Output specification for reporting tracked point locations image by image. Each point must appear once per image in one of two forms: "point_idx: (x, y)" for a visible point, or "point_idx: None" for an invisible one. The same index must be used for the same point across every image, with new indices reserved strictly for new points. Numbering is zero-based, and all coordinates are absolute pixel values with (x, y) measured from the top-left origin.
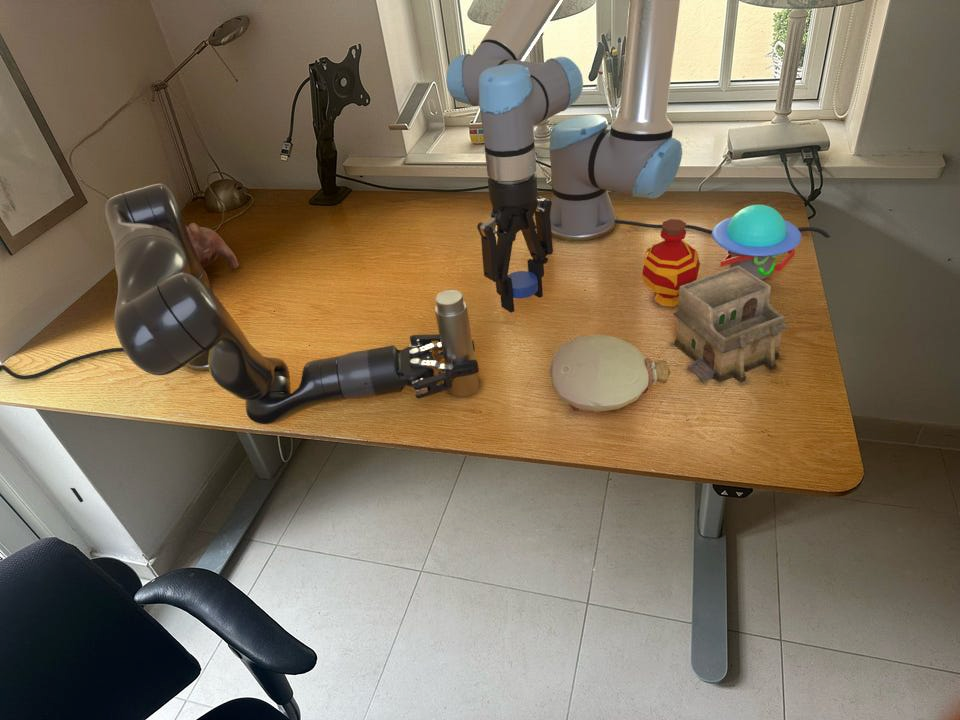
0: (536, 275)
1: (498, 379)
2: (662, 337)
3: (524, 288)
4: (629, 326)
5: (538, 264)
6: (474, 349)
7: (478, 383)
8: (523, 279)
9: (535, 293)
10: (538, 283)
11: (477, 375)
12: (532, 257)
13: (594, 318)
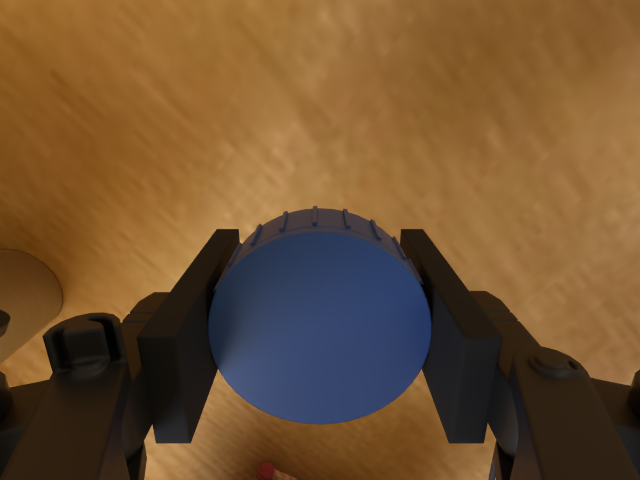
0: (426, 364)
1: None
2: None
3: (275, 413)
4: None
5: (467, 437)
6: (1, 335)
7: (51, 319)
8: (334, 348)
9: None
10: None
11: (36, 330)
12: (509, 371)
13: (526, 312)
